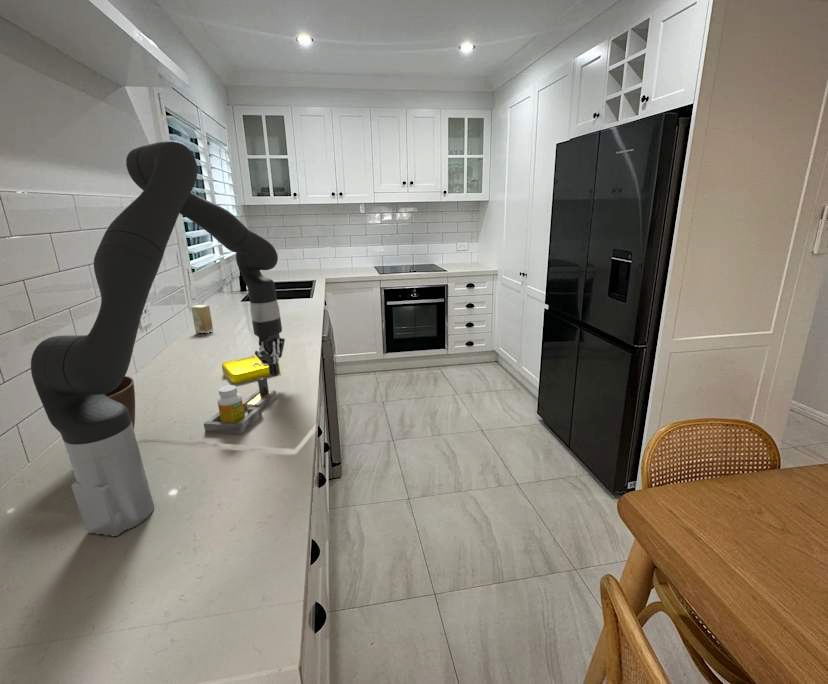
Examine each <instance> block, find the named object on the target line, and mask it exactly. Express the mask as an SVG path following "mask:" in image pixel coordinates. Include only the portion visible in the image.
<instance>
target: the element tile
mask: <svg viewBox="0 0 828 684" xmlns="http://www.w3.org/2000/svg"><path fill="white" fill-rule="evenodd" d="M278 367H279V374H278V375H281V369H280V363H279V362H278ZM221 369H222V374H223V377H224V378H225V377H226V378H227V379H228V380H229V382H231V383H232V384H240V383H245V382H250V381H253V380H258V379H259V378H262V377H268V376H271V375H270V372H269V366H268V364H263V363H262V362H261V361H260V359H259V358H258V357H257V356H256V355H255V354H254V355H250V356H245V357H241V358H236V359H233V360H232V359H231V360H228V361H224V362H222V363H221ZM278 375H277V376H278ZM226 378H225V379H226Z"/></svg>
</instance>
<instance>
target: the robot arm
mask: <svg viewBox="0 0 828 684" xmlns="http://www.w3.org/2000/svg"><path fill="white" fill-rule="evenodd" d="M125 161H126V162H125V165H126V170H127V173H128V174H129V177H130V178H131V179H132V181H133V183H135V185H136V186H137V187H139V188H140V189H141V190H142V192H141V193H140V194H139V195H138V196H137V198H135V199H134V200H133V201H132V202H131V203H130V204H129V205H128V206H126V208H125V209H124V210H122V211H121V212H120V214H119V215H117V216H116V217H115V218H114V219H113V220H112V222H111V223H110V224H109V226H108V228H107V229H106V230H105V232H104V234H103V236H102V239H101V240H100V243H99V245H98V247H97V250H96V252H95V255H94V258H93V271H94V275H95V279H96V283H97V286H98V288H99V292H100V300H101V301H100V307H99V310H98V314H97V316H96V318H95V319H96V320H95V321H94V324H93V326H92V327H91V329H90V331H89V332H88V334H85V335H83V334H81V335H76V334H75V335H74V334H73V335H71V334H70V335H67V334H66V335H55V336H51V337H48V338H45V339H44V340H42V341H40V342H39V343H38V345H36V348H35V349H34V351H33V352H32V355H31V359H30V374H31V379H32V381H33V383H34V386H35V390H36V392H37V394H38V397H39V399H40V402H41V404H42V406H43V408H44V409H43V410H44V411H45V414H46V416H47V418H48V420H49V423H50V424H51V426H53V428H54V429H56V430H57V431H58V432H59V433H60V435H61V438H62V441H63V444H64V447H65V450H66V453H67V456H68V458H69V462H70V465H71V469H72V472H73V474H74V477H75V478H74V479H75V482H73V483H72V485H71V489H72V490H71V491H72V492H73V495H74V498H75V502H76V504H77V509H78V510H79V513H80V516H81V519H82V522H83V525H84V529H85V531H86V533H87V532H88V533H87V534H92V533H98V534H97V535H99V534H106V535H105V536H107V535H113V536H112V537H114V536H117V535H119V534H120V533H121V532H122V533H123V531H124V532H125V530H126V531H128V530H130V528H131V529H133V528H134V526H135V527H137V526H138V525H140V524H141V523H143V522H144V521H145V520H147V519H148V518H149V517H150V516H151V515H152V513H153V511H154V509H155V504H154V501H153V496H152V492H151V489H150V484H149V481H148V477H147V473H146V470H145V467H144V466H145V465H144V462H143V459H142V456H141V455H142V454H141V451H140V448H139V444H138V440H137V437H136V433H135V428H134V429H133V425H132V421H131V418H130V414H129V411H128V409H127V407H126V406H125V405H123V404H121V403H119V402H117V401H115V400H112V399H111V398H109V397H107V396H106V395H105V394H107V393H109V392H111V391H113V390H115V389H116V388H117V387H118V386H119V385H120V384H121V382H122V381H123V379H124V377H125V376H127V372H128V370H129V367H130V363H131V360H132V356H133V352H134V347H135V343H136V338H137V335H138V331H139V327H140V323H141V318H142V315H143V311H144V309H145V306H146V304H147V300H148V297H149V294H150V291H151V289H152V285H153V283H154V281H155V278H156V276H157V274H158V272H159V268H160V266H161V263H162V260H163V258H164V255H165V251H166V248H167V245H168V243H169V240H170V237H171V235H172V234H173V233H172V232H173V230H174V228H175V225H176V223H177V221H178V217H179V215H182V216H184V217H185V218H187V219H188V220H189V221H192V222H193V223H194V224H196V225H197V226H199V227H200V228H201V229H203V230H204V231H205V232H207V233H208V234H209V235H211V236H212V237H213V238H214V239H215V240H216V241H218V243H220V244H221V246H223V247H225V248H226V249H227V250H228V251H230V252H233V253H235V259H236V260H235V261H236V264H237V265H236V266H238V269H239V272H240V275H241V276H242V279H243V281H244V283H245V284H246V287H247V292H248V299H249V310H250V317H251V324H252V329H253V334H254V335H255V336H256V337H258V346H259V348H258V350H255V351H254V355H256V356H257V357H258V358H259V359H260V361H261V362H262V363H263V364H268V366H269V372H270V375H269V376H272V377H277V376H278V374H279V368H280V366H279V367H278V363H279V361H280V358H282V356H283V351H284V346H285V341H286V340H285V338H284V337H280V334H281V333H282V331H283V326H282V321H281V320H282V319H281V312H280V307H279V302H278V297H277V290H276V284H275V281H274V280H273V279H271V278H269V277H266V276H264V275H263V274H262V272H261V271H269V270H272V269H273V268H275V267H276V265H277V264H278V260H279V258H278V252H277V250H276V248H275V247H274V246H273V245H272V244H271V242H270V241H268V240H267V239H265V238H264V237H262V236H260V235H259V234H257V233H255V232H254V231H251V230H249V229H248V228H247V227H246V226H245V225H244V223H242V221H240V220H239V219H238V218H237V217H236V216H235V215H234V214H233V213H231V212H230V210H227V209H225V208H224V207H222V206H220V205H218V204H216V203H214V202H212V201H210V200H208V199H205V198H203V197H201V196H199V195H198V194H196V193H194V192H192V191H193V189H194V187H195V185H196V182H197V178H198V163H197V160H196V157H195V155H194V153H193V152H192V150H191V148H189V147H188V145H186V144H184V143H182V142H180V141H175V140H161V141H156V142H153V143H150V144H145V145H141V146H138V147H136V148H133V149H132V150H131V151H129V152H128V154H127V155H126V160H125ZM127 529H128V530H127ZM122 533H121V534H122ZM121 534H120V535H121ZM120 535H119V536H120ZM117 537H118V536H117Z"/></svg>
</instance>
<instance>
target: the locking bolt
mask: <svg viewBox="0 0 828 684" xmlns="http://www.w3.org/2000/svg"><path fill="white" fill-rule="evenodd" d="M268 383H269V382H268V378H267V376H265V377H261V378H257V385H258V390H259V392H260V394H258V395H257V396H256V397H255V398H253V399H252V400H251V401H250V402H248V403H247V404H246V405H247V409H248V408H249V407H255V404H256V403H258V402H259V401H260V400H261V399H262V398H264V397H265V396H266V395H267V394H269V393H270V392H271V391H270V390H269V384H268ZM247 409H246V410H247Z"/></svg>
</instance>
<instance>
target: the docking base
mask: <svg viewBox="0 0 828 684" xmlns="http://www.w3.org/2000/svg"><path fill="white" fill-rule="evenodd" d="M269 392H270V393H269V394H267V395H266V396H265V397H264V398H262V399H261V400H260V401H259V402H258V403H256V404H255V407H249V408H248V409H247V405H246V404H247V403H248V402H250V401H251V400H252V399H253V398H255V397H256V396H257V395H258V394H260V392H259V389H257V390H256V391H255V392H254V393H252V394H251V395H249V397H247V398H246V399H245V400H242V403H243V408H244V412H245V411H246V412H247V415H245V417H244V418H243V419H242V420H241V421H240V422H238V423H227V422H221V417H220V412H219V411H218V412H217V413H216V414H214V415H213V416H212V417H210V418H209V419H207V420H206V421H205V422H204V423H203V429H204V433H209V434H210V433H211V434H223V435H234V436H235V435H237V436H238V435H239V436H241V435H243V434H244V433H245V432H246V431H247V430H248V429H249V428H250V427H252V426H253V425H254V424H255V423H256V422H257V421H258V420H260V419H261V418H262V417H263V413H262V410H263V409H264V408H265V407H266V406H267V405H269V404H270V403H272V401H273V400H275V398H277V391H276V390H271V391H269Z"/></svg>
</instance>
